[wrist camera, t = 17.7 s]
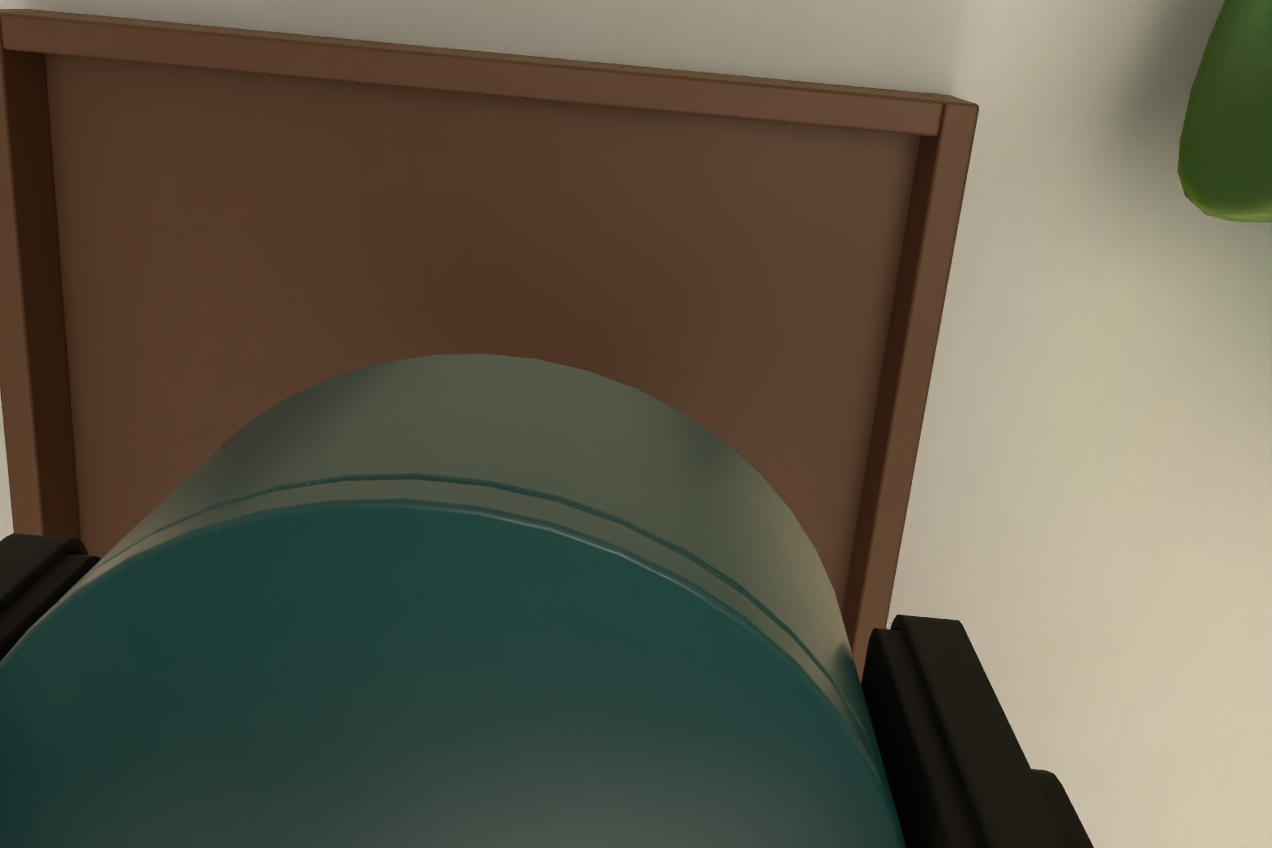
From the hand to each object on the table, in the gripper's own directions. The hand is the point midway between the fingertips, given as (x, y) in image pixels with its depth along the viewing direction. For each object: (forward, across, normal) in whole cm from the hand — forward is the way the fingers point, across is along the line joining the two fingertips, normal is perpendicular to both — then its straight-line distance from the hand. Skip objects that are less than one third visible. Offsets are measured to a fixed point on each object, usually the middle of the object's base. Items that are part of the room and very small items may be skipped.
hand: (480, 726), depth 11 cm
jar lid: (+1, 0, 0) cm, 1 cm away
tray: (+14, +2, +2) cm, 14 cm away
